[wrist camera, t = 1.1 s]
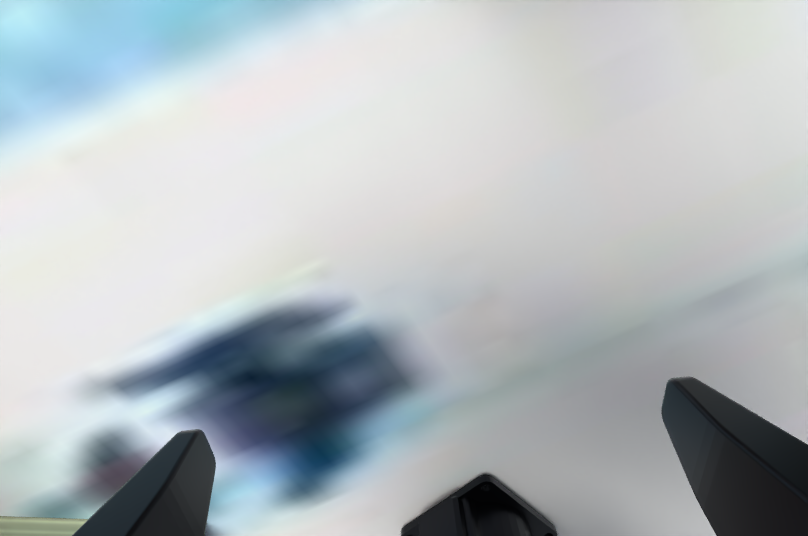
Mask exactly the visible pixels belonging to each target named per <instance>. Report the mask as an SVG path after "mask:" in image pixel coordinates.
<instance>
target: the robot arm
mask: <svg viewBox="0 0 808 536" xmlns="http://www.w3.org/2000/svg"><path fill="white" fill-rule="evenodd" d="M661 411H662V419H663V422H664V424H665V427H666V429H667V431H668V434H669V436H670V438H671V441H672V443H673V446H674V448H675V450H676V453H677V455H678V457H679V460H680V462H681V464H682V467H683V469H684V471H685V474H686V476H687V478H688V481H689V483H690V485H691V488H692V490H693V492H694V494H695V496H696V498H697V500H698V502H699V504H700V506H701V508H702V510H703V512H704V513H705V515H706V517H707V519H708V521H709V523H710V524H711V526H712V528H713V530H714V532H715V533H716V535H717V536H808V445H807V444H806V443H804V442H802V441H801V440H799V439H797V438H795V437H794V436H792V435H790V434H789V433H787V432H785V431H784V430H782V429H780V428H779V427H777V426H775V425H773V424H772V423H770V422H768V421H767V420H765V419H763V418H762V417H760V416H758V415H757V414H755V413H753V412H751V411H750V410H748V409H746V408H745V407H743V406H741V405H740V404H738V403H736V402H735V401H733V400H731V399H729V398H728V397H726V396H724V395H723V394H721V393H719V392H718V391H716V390H714V389H713V388H711V387H709V386H707V385H706V384H704V383H702V382H701V381H699V380H697V379H695V378H693V377H680V378H672V379H670V380H669V381H668V382H667V385H666V390H665V394H664V399H663V404H662V410H661ZM215 468H216V462H215V457H214V454H213V452H212V450H211V447H210V445H209V443H208V441H207V438H206V436H205V434H204V432H203V431H202V430H199V429H196V430H186V431H181V432H179V433H177V434H176V435H175V436H174V437H173V438H172V439H171V440H170V441H169V442H168V443H167V444H166V445H165V446H164V447H163V448H162V449H160V450H159V451H158V452H157V453H156V454H155V455H154V456H153V457H152V458H151V459H150V460H149V461H148V462H147V463H146V464H145V465H144V466H143V467H142V468H141V469H140V470H139V471H138V472H137V473H136V474H135V475H134V476H133V477H132V478H131V479H130V480H129V481H127V482H126V483H125V484H124V485H123V486H122V487H121V488H120V489H119V490H118V491H117V492H116V493H115V494H114V495H113V496H112V497H111V498H110V499H109V500H108V501H107V502H106V503H105V504H104V505H103V506H102V507H101V508H100V509H99V510H98V511H97V512H96V513H94V514H93V515H92V516H91V517H90V518H89V519H88V520H87V521H86V522H85V523H84V524H83V525H82V526H81V527H80V528H79V529H78V530H77V531H76V532H75V533H74V534H73V535H72V536H204V535H205V529H206V523H207V517H208V511H209V505H210V499H211V493H212V487H213V481H214V475H215ZM401 536H557V532H556V529H555V527H554V525H553V524H551V523H550V522H549V521H547V520H546V519H545V518H544V517H542V516H541V515H540V514H539V513H537V512H536V511H535V510H533V509H532V508H531V507H530V506H528V505H527V504H526V503H525V502H523V501H522V500H521V499H519V498H518V497H517V496H516V495H514V494H513V493H512V492H510V491H509V490H508V489H507V488H505V487H504V486H503V485H502V484H500V483H499V482H498V481H496V480H495V479H494V478H493V477H491V476H489V475H483V476H480V477H478V478H477V479H475V480H474V481H472V482H471V483H469V484H468V485H466V486H465V487H463V488H462V489H460V490H459V491H457V492H456V493H454V494H453V495H451V496H450V497H448V498H447V499H445V500H444V501H442V502H441V503H439V504H438V505H436V506H435V507H433V508H432V509H430V510H429V511H427V512H426V513H424V514H423V515H421V516H419V517H418V518H416V519H415V520H413V521H412V522H410V523H409V524H407V525H406V526H404V527H403V528H402V530H401Z"/></svg>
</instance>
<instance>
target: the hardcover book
mask: <svg viewBox="0 0 808 536" xmlns="http://www.w3.org/2000/svg"><path fill="white" fill-rule="evenodd" d="M87 520H88V519H66V518H37V517H7V516H0V536H72V535H73V534H74V533H75V532H76V531H77V530H78V529H79V528H80V527H81V526H82V525H83V524H84V523H85V522H86V521H87Z"/></svg>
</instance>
